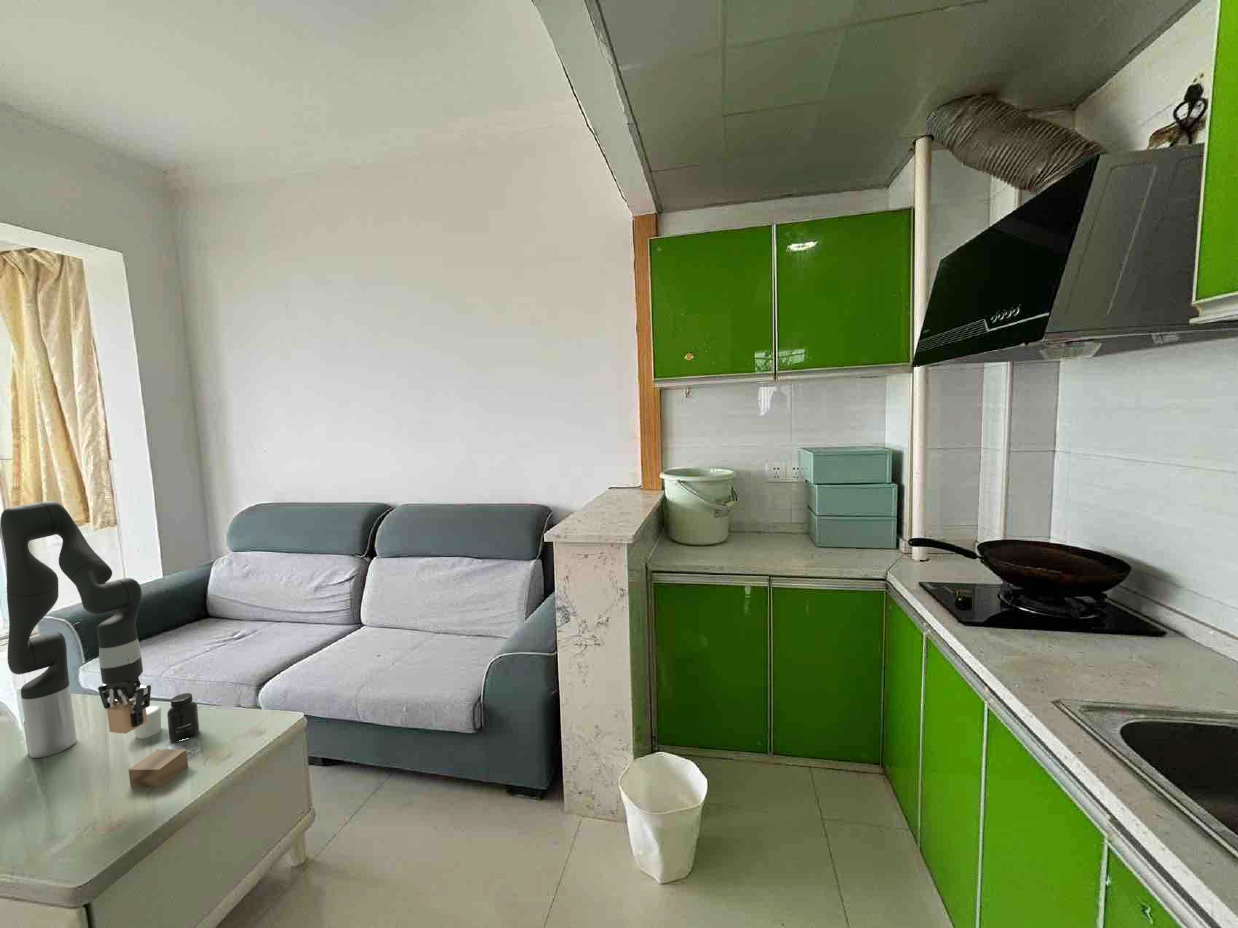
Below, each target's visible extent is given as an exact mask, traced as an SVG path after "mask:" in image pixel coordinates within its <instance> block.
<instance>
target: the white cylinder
mask: <svg viewBox="0 0 1238 928" xmlns="http://www.w3.org/2000/svg"><path fill="white" fill-rule="evenodd" d="M146 714H147V723H145V724H143V725H141V726H139V727H137V728H135V729H133V730H134V734H135V738H136V737H137V738H136V739H145V738H149V737H152V736H154V735H155V734H157V733H159V732H160V731H161V730H162V705H160V704H151V705H150V706H149V707H147V708H146Z"/></svg>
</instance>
